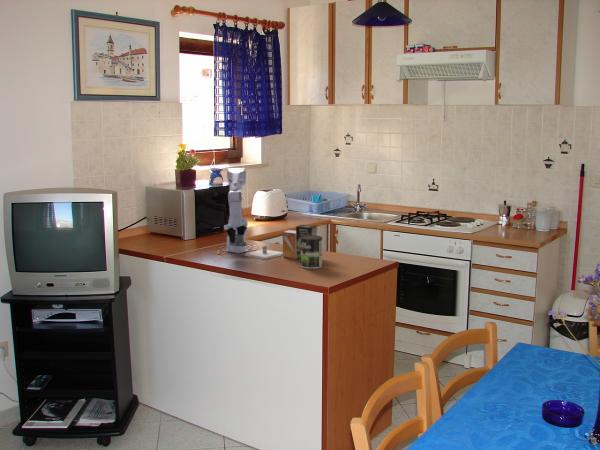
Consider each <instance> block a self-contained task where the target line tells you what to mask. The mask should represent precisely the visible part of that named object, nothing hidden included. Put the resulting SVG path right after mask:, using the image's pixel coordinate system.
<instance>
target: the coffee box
mask: <svg viewBox="0 0 600 450" xmlns="http://www.w3.org/2000/svg"><path fill="white" fill-rule="evenodd" d="M295 231H296V240H297V259H301V239H300V237H302V236H308V235H316V236H318V225H308V224H300V225H297V226H295Z"/></svg>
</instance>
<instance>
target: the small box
mask: <svg viewBox="0 0 600 450" xmlns="http://www.w3.org/2000/svg"><path fill="white" fill-rule="evenodd" d="M282 252H283V255H282V257H283V258H289V259H295V260H296V259H298V258H297V240H296V230H291V229H288V230H285V231H282Z"/></svg>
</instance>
